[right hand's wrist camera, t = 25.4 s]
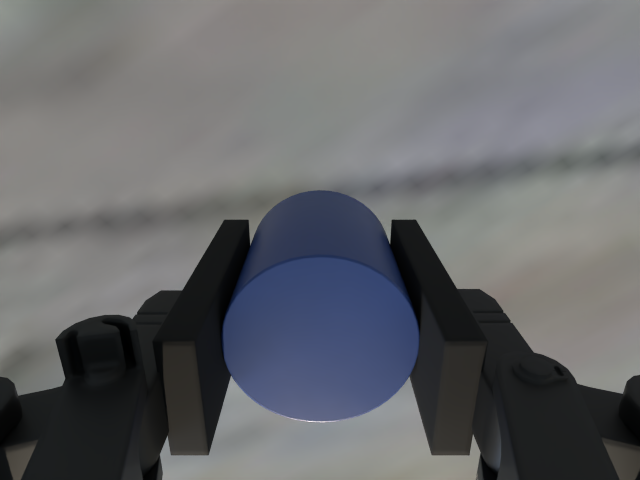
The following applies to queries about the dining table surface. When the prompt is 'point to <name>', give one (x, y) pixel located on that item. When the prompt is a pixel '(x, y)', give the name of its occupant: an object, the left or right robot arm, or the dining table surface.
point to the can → (320, 312)
